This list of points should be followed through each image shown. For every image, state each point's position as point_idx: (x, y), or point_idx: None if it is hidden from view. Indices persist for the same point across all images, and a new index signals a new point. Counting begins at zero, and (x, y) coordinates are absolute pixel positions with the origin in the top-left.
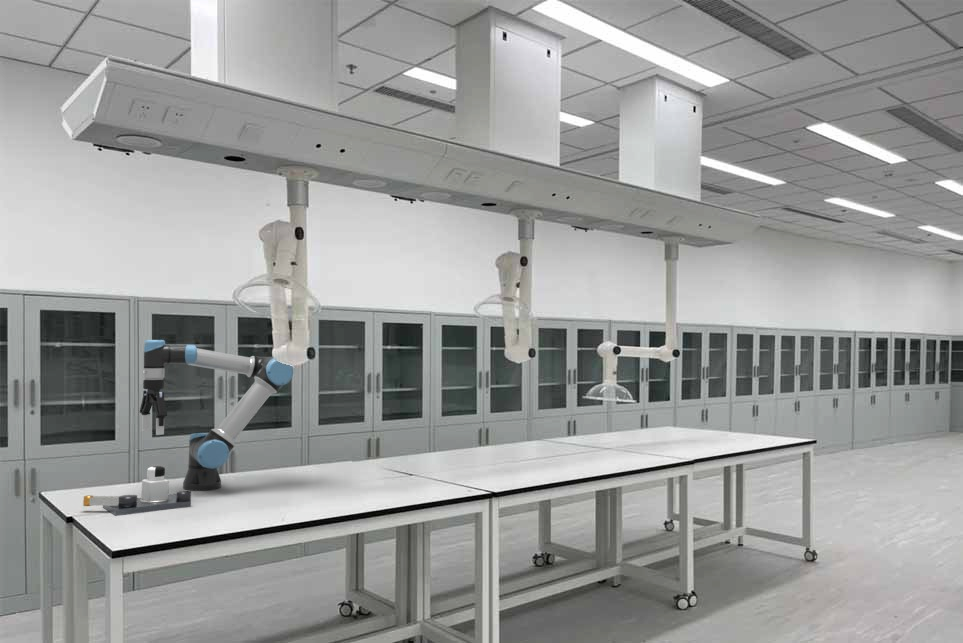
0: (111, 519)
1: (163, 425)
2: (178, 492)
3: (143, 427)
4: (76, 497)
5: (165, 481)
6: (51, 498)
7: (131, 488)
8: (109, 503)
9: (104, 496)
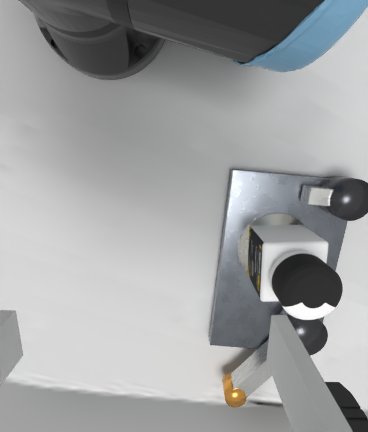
0: (335, 359)
1: (343, 387)
2: (345, 215)
3: (2, 376)
4: (58, 341)
5: (327, 253)
6: (40, 381)
7: (5, 201)
8: None
9: (257, 372)
